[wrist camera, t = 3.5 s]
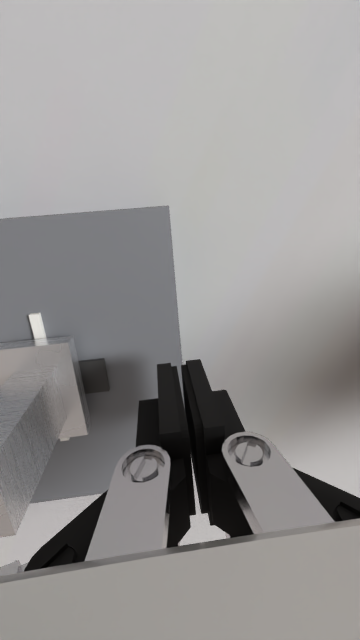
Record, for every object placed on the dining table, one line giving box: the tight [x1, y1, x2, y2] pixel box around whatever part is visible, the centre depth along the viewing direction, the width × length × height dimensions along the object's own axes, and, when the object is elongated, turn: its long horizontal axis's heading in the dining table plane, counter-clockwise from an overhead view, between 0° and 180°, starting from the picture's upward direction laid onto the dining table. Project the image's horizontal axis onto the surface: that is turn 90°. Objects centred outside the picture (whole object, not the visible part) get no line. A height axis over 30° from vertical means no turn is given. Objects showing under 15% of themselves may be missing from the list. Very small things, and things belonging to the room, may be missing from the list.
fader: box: [0, 336, 91, 537], centre depth 10 cm, size 4×3×6 cm
